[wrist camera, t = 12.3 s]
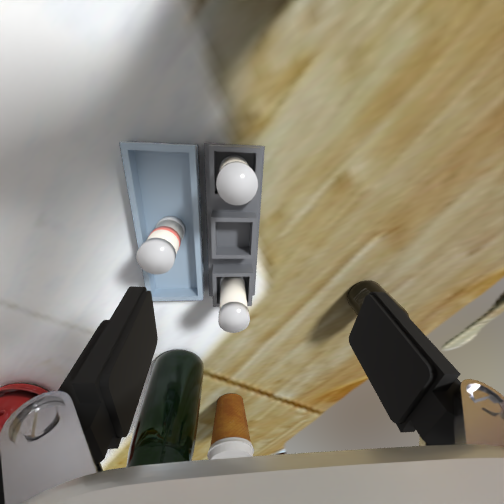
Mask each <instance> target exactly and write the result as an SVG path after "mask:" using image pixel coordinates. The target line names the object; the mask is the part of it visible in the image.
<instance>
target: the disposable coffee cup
mask: <svg viewBox="0 0 504 504" xmlns="http://www.w3.org/2000/svg"><path fill="white" fill-rule="evenodd" d="M253 453H254V448H253V446H252V444H251V442H250V436H249V431H248V425H247V420H246V415H245V409H244V404H243V399H242V397H241V396H240V395H237V394H226V395H223V396H221V397H220V398H219V399H218V401H217V408H216V414H215V421H214V427H213V433H212V440H211V447H210V449H209V451H208V459H209V460H211V459H225V458H240V457H252V455H253Z"/></svg>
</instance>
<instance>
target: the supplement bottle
mask: <svg viewBox="0 0 504 504" xmlns="http://www.w3.org/2000/svg"><path fill="white" fill-rule="evenodd" d="M370 292H385V293H386V294H388V293H387V292H386V291H385V290H384V289H383V288H382V287H381V286H380V285H379V284H378V283H376V282H374V281H362V282H360V283H358V284H356V285H355V286H354V287H353V288H352V289H351V290H350V292H349V294H348V303H349V304H350V306H351V307H352V309H353V310H354V311H355V313H356V314H357V316H358V314H359V311H360V309H361V306H362V304H363V301H364V299H365V297H366V296H367V295H369V293H370ZM388 296H389V297H390V298H391V299H392V300H393V301H394V302H395V303H396V304H397V305H398V306H399V308H400V309H401V310H402V311H403V312H404V313H405V314H406V315H407V316H408V317H409V315H408V313H407V311H406V310H405V309H404V308H403V307H402V306H401V305H400V304H399V303H398V302H397V301H396V300H395V299H393V298H392V297H391V296H390V295H389V294H388Z"/></svg>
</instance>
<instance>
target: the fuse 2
mask: <svg viewBox="0 0 504 504" xmlns="http://www.w3.org/2000/svg"><path fill="white" fill-rule="evenodd" d="M218 322H219V325H220V327H221V328H222V329H223V330H225V331H227V332H231V333H235V332H240V331H242V330H244V329H245V328H246V327H247V326H248V325H249V322H250V318H249V311H248V308H247V299H246V291H245V278H244V277H221V278H220V310H219V321H218Z"/></svg>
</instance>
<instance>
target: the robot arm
mask: <svg viewBox="0 0 504 504" xmlns="http://www.w3.org/2000/svg"><path fill="white" fill-rule="evenodd" d="M349 343H350V345H351V347H352V349H353V351H354V353H355V355H356V356H357V358H358V360H359V362H360V364H361V366H362V367H363V369H364V371H365V373H366V375H367V377H368V378H369V380H370V382H371V384H372V386H373V388H374V389H375V391H376V393H377V395H378V396H379V399H380V400H381V402H382V404H383V406H384V408H385V409H386V411H387V413H388V415H389V417H390V419H391V420H392V421H393V422H394V423H396V424H397V426H398V428H399V430H400V432H414V431H415V430H417V432H418V433H419V435H420V441H419V446H412V447H396V448H378V449H361V450H346V451H330V452H314V453H299V454H283V455H268V456H254V457H240V458H225V459H211V460H197V461H185V462H173V463H162V464H151V465H140V466H132V467H125V468H118V469H111V470H106V471H103V469H102V466H101V464H100V462H101V461H102V460H103V459H104V458H105V455H106V453H107V450H108V449H114V448H118V447H119V444H120V441H121V438H122V437H126V436H127V435H128V433H129V430H130V427H131V424H132V421H133V417H134V414H135V411H136V408H137V405H138V402H139V399H140V396H141V392H142V389H143V386H144V383H145V380H146V377H147V374H148V371H149V368H150V364H151V361H152V358H153V355H154V352H155V349H156V345H157V330H156V323H155V316H154V309H153V301H152V294H151V291H147V289H146V287H129V288H128V290H127V292H126V293H125V295H124V297H123V298H122V300H121V302H120V303H119V305H118V307H117V308H116V310H115V312H114V313H113V315H112V317H111V318H110V320H104V321H103V322H102V323H101V324H100V325H99V327H98V328H97V330H96V331H95V333H94V335H93V336H92V338H91V339H90V341H89V343H88V344H87V346H86V347H85V349H84V350H83V352H82V354H81V355H80V357H79V358H78V360H77V362H76V363H75V365H74V366H73V368H72V369H71V371H70V373H69V374H68V376H67V377H66V379H65V380H64V382H63V384H62V385H61V387H60V388H59V390H58V391H50V392H46V393H43V394H40V395H38V396H35V397H33V398H32V399H30V400H29V401H27V402H25V403H24V404H22V405H21V406H20V407H19V408H18V409H17V410H15V411H14V412H13V413H12V415H11V416H10V417H9V418H8V419H7V421H6V422H5V424H4V426H3V428H2V430H1V432H0V504H504V397H503V396H502V395H501V394H500V393H499V392H497V391H496V390H495V389H493V388H491V387H490V386H488V385H486V384H484V383H482V382H479V381H476V380H472V379H467V380H464V381H462V382H460V381H459V380H458V379H457V378H458V376H459V375H460V373H459V372H458V371H457V370H456V369H455V368H454V366H453V365H452V364H451V363H450V362H449V361H448V360H447V359H446V358H445V357H444V356H443V354H442V353H441V352H440V351H439V350H438V349H437V348H436V347H435V346H434V345H433V344H432V343H431V341H430V340H429V339H428V338H427V337H426V336H425V335H424V334H423V333H422V332H421V330H420V329H419V328H418V327H417V326H416V325H415V324H414V323H413V322H412V321H411V320H410V318H409V317H408V316H407V315H406V314H405V313H404V312H403V311H402V310H401V309H400V308H399V306H398V305H397V304H396V303H395V302H394V301H393V300H392V299H391V298H390V297H389V296H388V294H386V293H385V292H370V293H369V295H367V296H366V297H365V299H364V301H363V304H362V306H361V309H360V311H359V314H358V316H357V318H356V321H355V323H354V326H353V328H352V331H351V333H350V336H349Z"/></svg>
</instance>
